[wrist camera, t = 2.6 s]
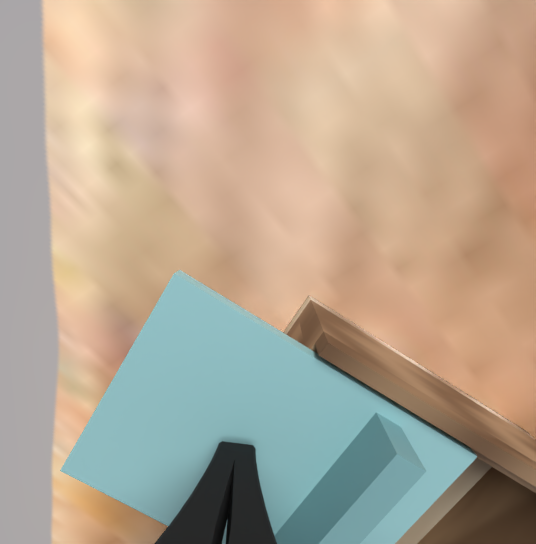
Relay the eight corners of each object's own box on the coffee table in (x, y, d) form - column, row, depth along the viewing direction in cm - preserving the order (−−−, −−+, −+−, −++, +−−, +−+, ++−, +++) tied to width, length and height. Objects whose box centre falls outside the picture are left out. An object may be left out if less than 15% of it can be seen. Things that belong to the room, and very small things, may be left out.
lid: (468, 444, 12) (518, 506, 10) (329, 593, 14) (341, 677, 12) (179, 269, 11) (151, 287, 8) (70, 459, 13) (19, 519, 10)
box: (525, 431, 18) (650, 540, 12) (404, 556, 20) (457, 700, 14) (309, 295, 16) (328, 342, 10) (203, 446, 19) (170, 556, 13)
